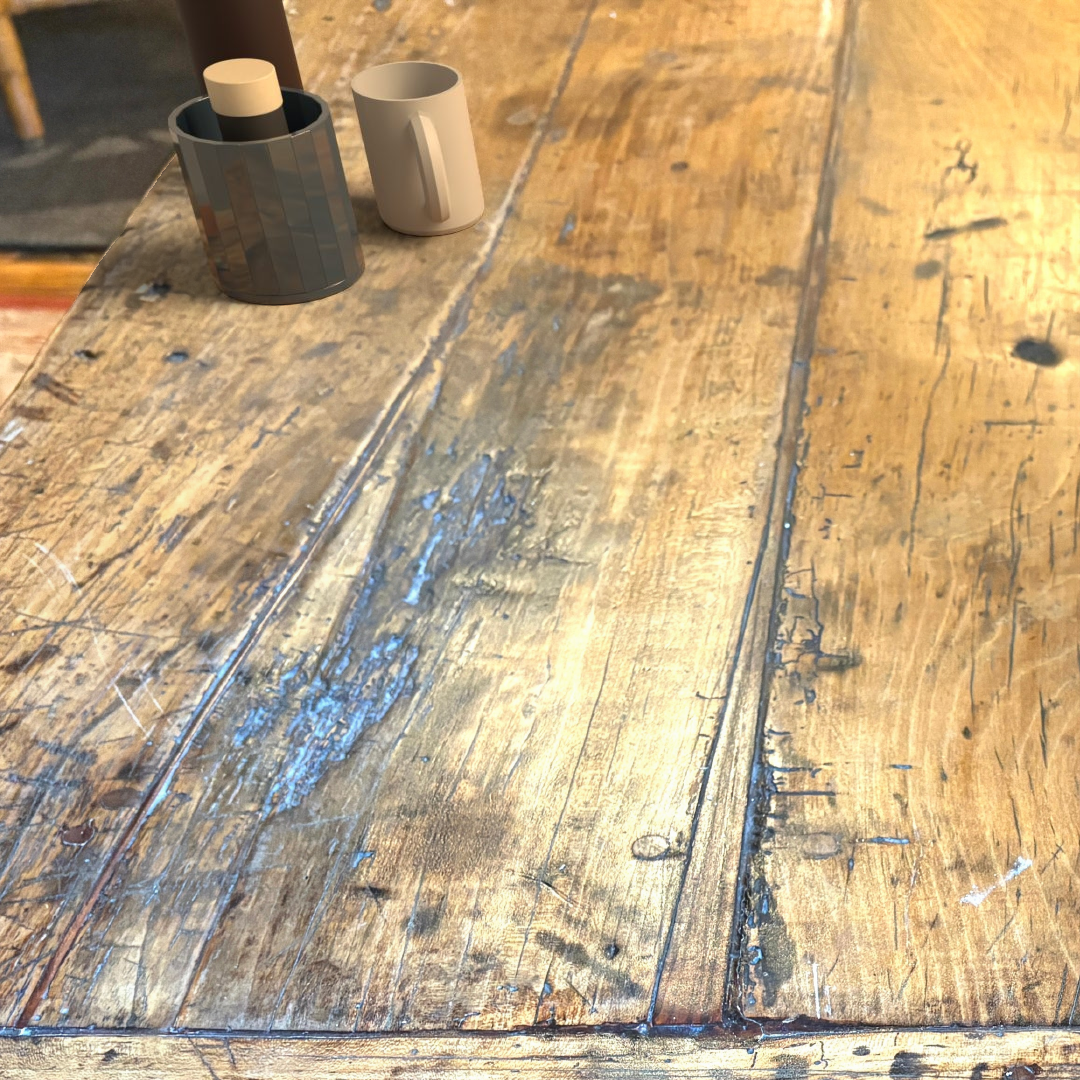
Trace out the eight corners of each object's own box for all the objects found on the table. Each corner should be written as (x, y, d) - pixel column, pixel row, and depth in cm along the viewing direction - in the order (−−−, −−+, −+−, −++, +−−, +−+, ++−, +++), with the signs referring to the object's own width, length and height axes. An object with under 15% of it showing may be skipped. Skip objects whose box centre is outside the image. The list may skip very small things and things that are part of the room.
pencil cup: (196, 303, 116) (147, 142, 109) (238, 239, 123) (194, 84, 115) (346, 306, 116) (307, 146, 109) (380, 242, 123) (345, 87, 116)
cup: (476, 188, 129) (452, 56, 123) (503, 246, 123) (479, 109, 117) (373, 201, 127) (343, 67, 121) (395, 260, 121) (365, 122, 115)
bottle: (322, 194, 128) (243, -127, 114) (222, 200, 127) (130, -124, 112) (326, 157, 133) (251, -157, 118) (230, 162, 131) (142, -154, 117)
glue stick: (248, 276, 118) (193, 82, 109) (266, 249, 120) (214, 57, 112) (313, 278, 118) (263, 83, 109) (329, 250, 121) (282, 58, 112)
